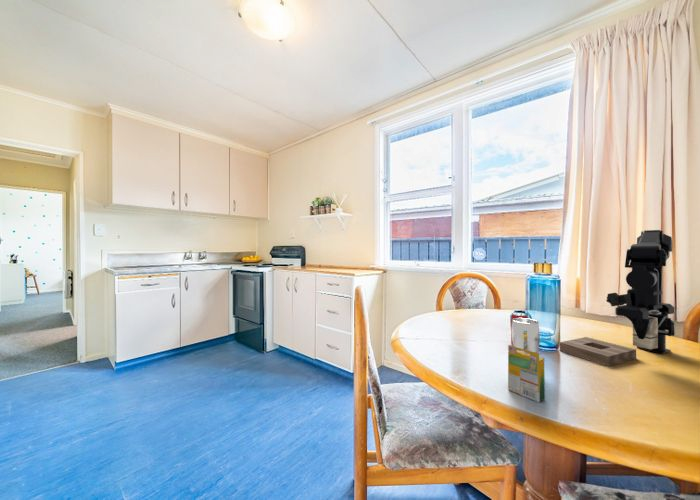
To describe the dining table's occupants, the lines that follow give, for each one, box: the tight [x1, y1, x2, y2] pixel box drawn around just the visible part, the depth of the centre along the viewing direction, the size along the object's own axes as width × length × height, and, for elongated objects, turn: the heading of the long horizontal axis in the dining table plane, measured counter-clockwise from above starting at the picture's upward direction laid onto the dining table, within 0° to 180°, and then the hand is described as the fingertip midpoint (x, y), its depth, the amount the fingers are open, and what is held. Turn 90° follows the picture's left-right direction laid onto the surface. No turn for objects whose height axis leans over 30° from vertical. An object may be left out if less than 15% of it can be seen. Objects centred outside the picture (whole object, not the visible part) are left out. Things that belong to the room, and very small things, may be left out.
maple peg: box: [632, 316, 658, 349], centre depth 85 cm, size 4×4×9 cm
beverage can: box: [510, 312, 529, 346], centre depth 102 cm, size 5×5×12 cm
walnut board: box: [559, 336, 637, 367], centre depth 94 cm, size 15×14×3 cm
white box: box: [512, 318, 541, 355], centre depth 82 cm, size 7×7×15 cm
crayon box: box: [507, 344, 546, 403], centre depth 69 cm, size 7×3×12 cm, turn 33°
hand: (645, 337), depth 85 cm, fingers closed on maple peg, 4 cm apart
